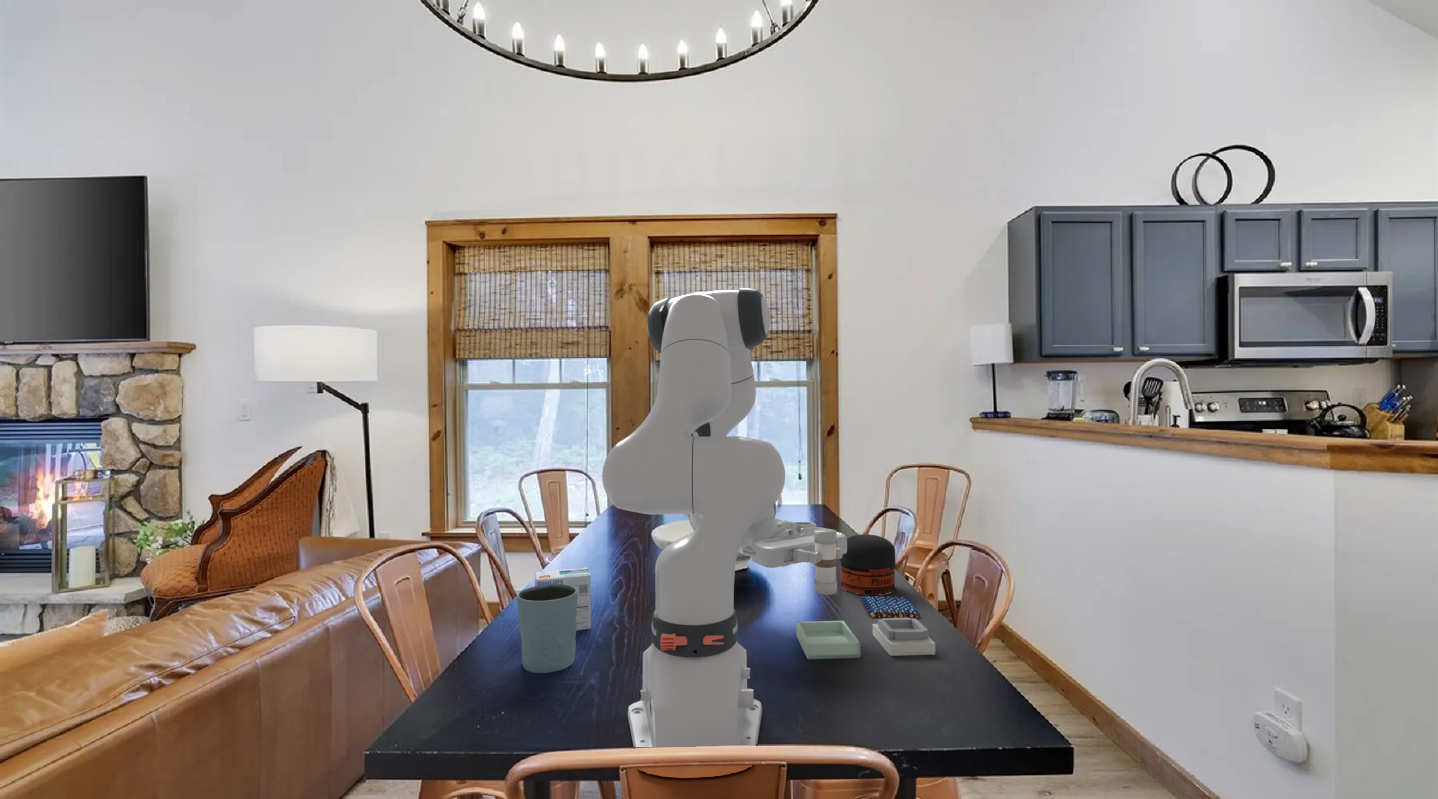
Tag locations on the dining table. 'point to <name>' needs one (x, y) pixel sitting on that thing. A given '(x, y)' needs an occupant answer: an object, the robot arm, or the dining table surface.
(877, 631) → the block
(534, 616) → the green cup
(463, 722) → the dining table surface
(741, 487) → the robot arm
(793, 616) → the dining table surface
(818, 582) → the cylinder
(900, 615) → the woven mat
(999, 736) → the dining table surface
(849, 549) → the oil filter
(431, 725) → the dining table surface
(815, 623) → the tray
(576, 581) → the light bulb box
